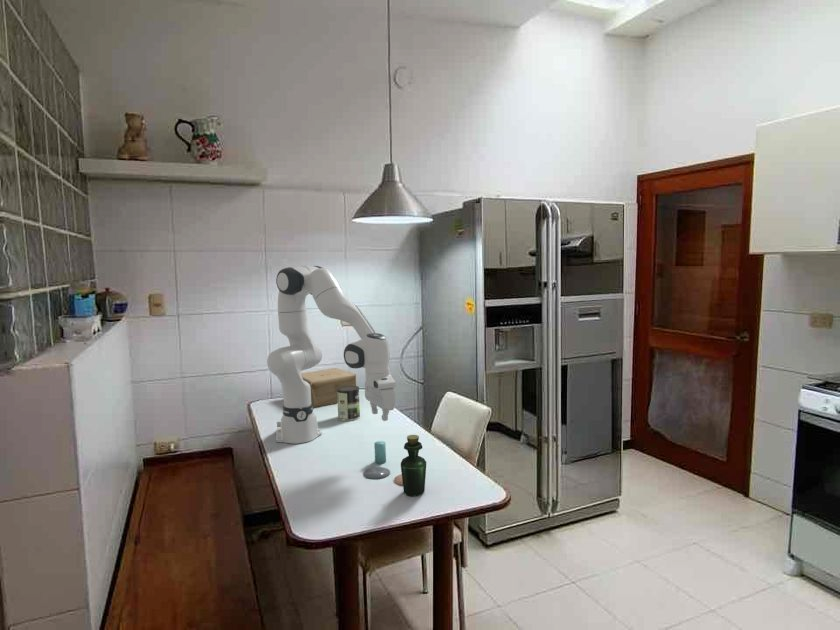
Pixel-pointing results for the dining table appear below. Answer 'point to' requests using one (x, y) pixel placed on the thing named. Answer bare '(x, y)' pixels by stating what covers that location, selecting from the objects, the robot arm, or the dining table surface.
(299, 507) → the dining table surface
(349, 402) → the coffee can
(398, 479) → the tan round disc
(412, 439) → the potion bottle
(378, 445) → the marker peg
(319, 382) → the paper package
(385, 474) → the grey flat disc
